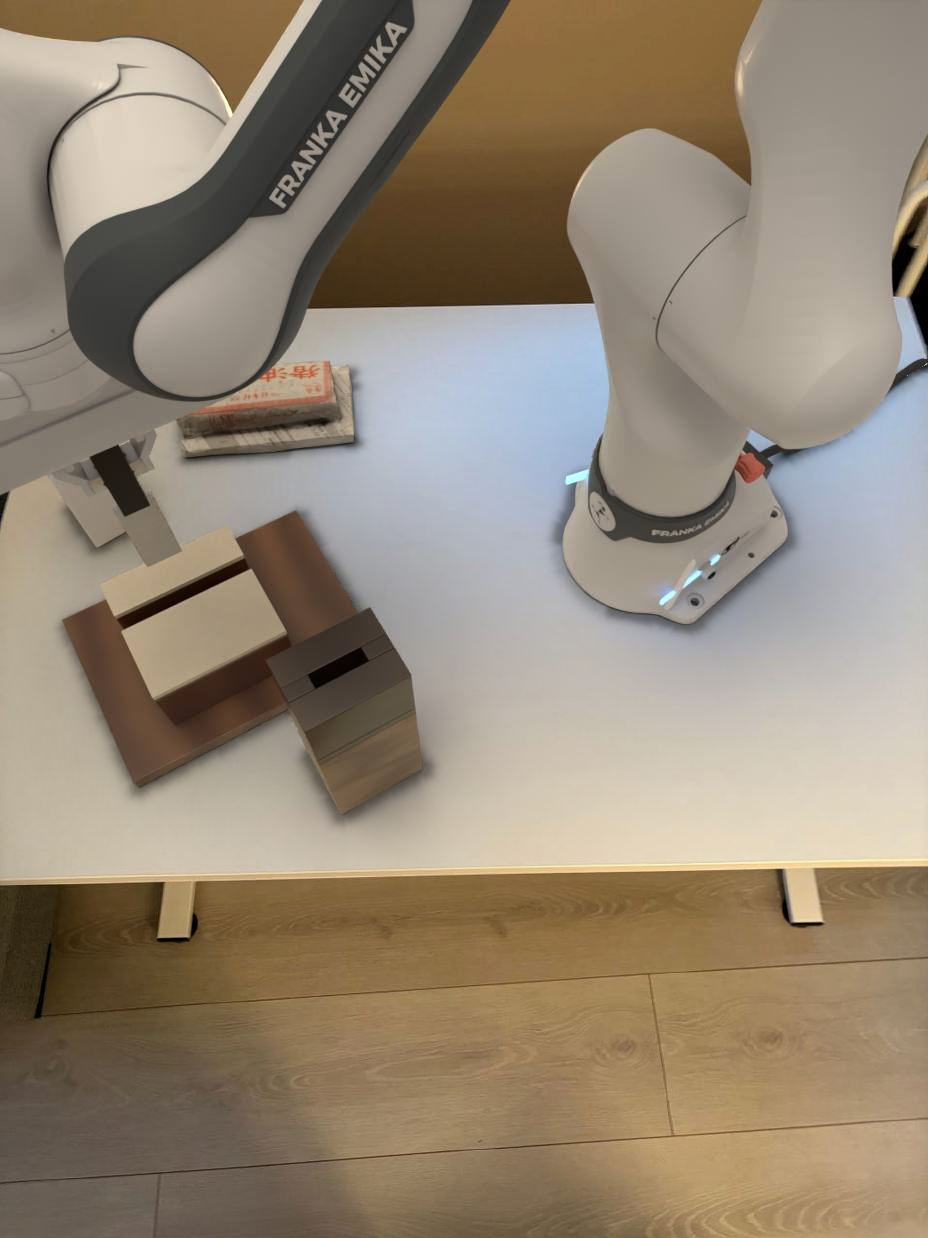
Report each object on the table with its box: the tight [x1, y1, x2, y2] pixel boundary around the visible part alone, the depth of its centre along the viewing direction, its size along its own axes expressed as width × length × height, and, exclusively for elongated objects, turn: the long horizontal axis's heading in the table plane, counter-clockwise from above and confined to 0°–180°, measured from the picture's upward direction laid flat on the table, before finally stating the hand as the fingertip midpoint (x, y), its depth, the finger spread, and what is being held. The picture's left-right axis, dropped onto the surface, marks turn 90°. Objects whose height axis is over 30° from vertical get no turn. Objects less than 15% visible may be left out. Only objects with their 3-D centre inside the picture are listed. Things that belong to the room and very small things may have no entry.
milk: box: [46, 457, 126, 548], centre depth 82 cm, size 6×6×22 cm
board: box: [61, 509, 359, 788], centre depth 85 cm, size 24×18×2 cm
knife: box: [89, 444, 182, 567], centre depth 66 cm, size 3×2×16 cm, turn 121°
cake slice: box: [99, 524, 250, 630], centre depth 83 cm, size 12×4×6 cm, turn 120°
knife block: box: [266, 606, 423, 816], centre depth 71 cm, size 8×6×21 cm
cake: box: [121, 569, 292, 725], centre depth 80 cm, size 12×7×7 cm, turn 120°
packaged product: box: [175, 360, 356, 458], centre depth 95 cm, size 18×5×10 cm
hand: (118, 476), depth 64 cm, fingers closed on knife, 2 cm apart
